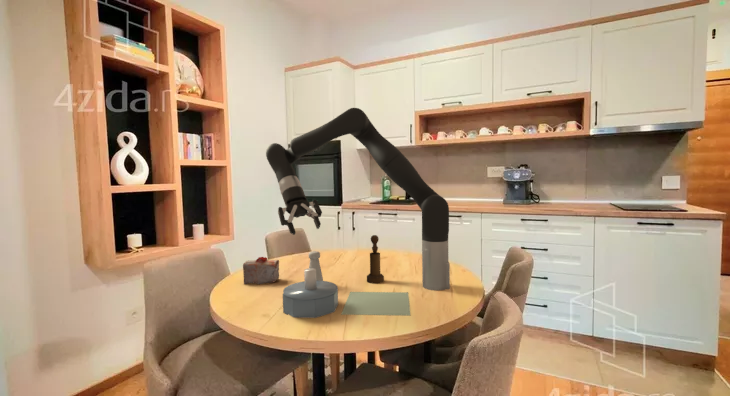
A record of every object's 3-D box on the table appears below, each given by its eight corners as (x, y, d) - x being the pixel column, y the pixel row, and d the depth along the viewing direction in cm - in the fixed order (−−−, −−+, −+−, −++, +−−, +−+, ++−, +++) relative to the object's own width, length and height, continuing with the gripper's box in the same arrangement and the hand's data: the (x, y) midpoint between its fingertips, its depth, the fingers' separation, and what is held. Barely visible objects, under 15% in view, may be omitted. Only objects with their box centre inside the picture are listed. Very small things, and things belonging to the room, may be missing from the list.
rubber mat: (408, 293, 118) (408, 292, 118) (410, 316, 99) (410, 315, 99) (350, 292, 120) (350, 291, 120) (341, 315, 100) (341, 314, 100)
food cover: (341, 299, 114) (341, 263, 113) (332, 319, 98) (331, 277, 97) (293, 298, 115) (292, 263, 115) (276, 318, 99) (274, 277, 98)
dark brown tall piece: (386, 280, 134) (385, 234, 133) (381, 285, 128) (380, 237, 127) (369, 278, 137) (368, 233, 136) (364, 283, 131) (363, 236, 130)
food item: (281, 278, 140) (280, 254, 140) (277, 284, 132) (277, 258, 132) (247, 279, 139) (246, 255, 139) (241, 285, 132) (240, 260, 131)
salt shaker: (324, 284, 131) (323, 250, 130) (321, 288, 125) (320, 253, 125) (309, 283, 132) (308, 250, 131) (305, 288, 126) (304, 253, 125)
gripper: (272, 189, 117) (286, 230, 110) (312, 181, 123) (328, 220, 116) (271, 201, 123) (284, 240, 116) (309, 193, 129) (324, 230, 122)
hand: (306, 230), depth 116 cm, fingers open, 8 cm apart
